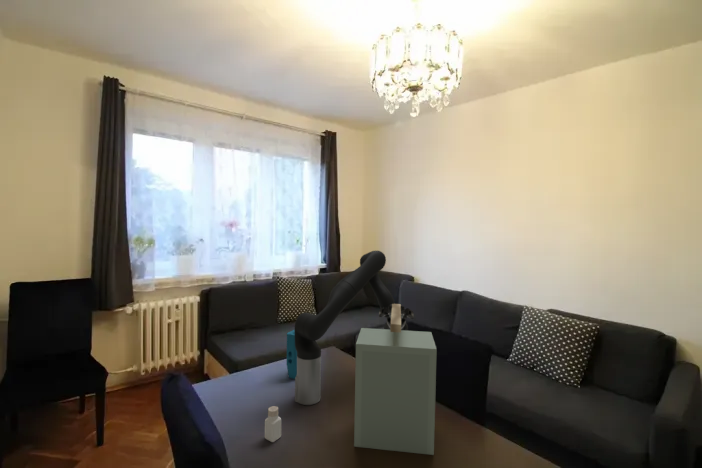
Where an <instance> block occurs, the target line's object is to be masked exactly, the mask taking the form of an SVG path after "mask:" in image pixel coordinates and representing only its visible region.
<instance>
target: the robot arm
mask: <svg viewBox="0 0 702 468" xmlns="http://www.w3.org/2000/svg"><path fill="white" fill-rule="evenodd" d="M386 260H387V259H386V255H385V254H384V252H383V251H381V250H372V251H369V252H367V253H365V254H363V255H362V256H361V257H360V259H359V264H360V265H359V266H358V267H357V268H355V270H353V271H351V272H350V273H349V274H347V275H345V276H344V277H343V278H342V279H341V280H339V281H338V282H337V284H336V285H334V287H332V289H331V291H330V293H329V298H328V301H327V304H326V306H324V308H323V309H322V310H320V311H319V312H318V313H317V314H314V313H310V312H302V313H300V314H298V316H297V318H295V319H296V320H295V322H294V329H293V330H294V331H295V348H296V351H297V375H296V377H295V379H294V402H295V403H298V404H300V405H305V406H312V405H315V404H318V403H319V402H320V401H321V393H322V392H321V388H322V387H321V386H322V384H321V381H322V379H321V377H322V375H321V374H322V372H321V371H322V366H321V365H322V348H321V346H320V345H319V344H318V342H317V341H318V340H320V339H321V338H322V337H323V336H324V335H325V334H326V333H327V331H328V330H329V328H330V327H331V326H332V324H333V323H334V322H335V320H336V319H337V317H339V316H340V314H341V313H342V312H343V310H344V309H345V308H346V307H347V306H348V305H349V304H350V303H351V302H352V301H353V300H354V299H355V298H356V296H357V295H358V294H359V293H360V292H361V291H362V289H363V288H364V287H365V286H366V285H367V283H369V285H370V287H371V289H372V292H373V294H374V295H375V297H376V301H377V303H378V306H379V308H380V309H379V311H378V317H379V318H382V317H384V318H386V322H385V324H384V326H383V329H388V330H390V328H391V312H392V304H396V302H395V299H394V297H393V294H392V293H391V291H390V290H389V289H388V288H387V286H386V285H385V284H384V283H383V281H382V280H381V277H380V276H379V272H381V270H383V269H384V267H385V265H386V264H387V263H386V262H387V261H386ZM414 317H415V316H414V311H413V310H412V309H410V308H408V307H407V308H405V306H403V304H402V305H401V330H405V331H409V326H408V324H407V321H406V319H411V320H413V319H414Z"/></svg>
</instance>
